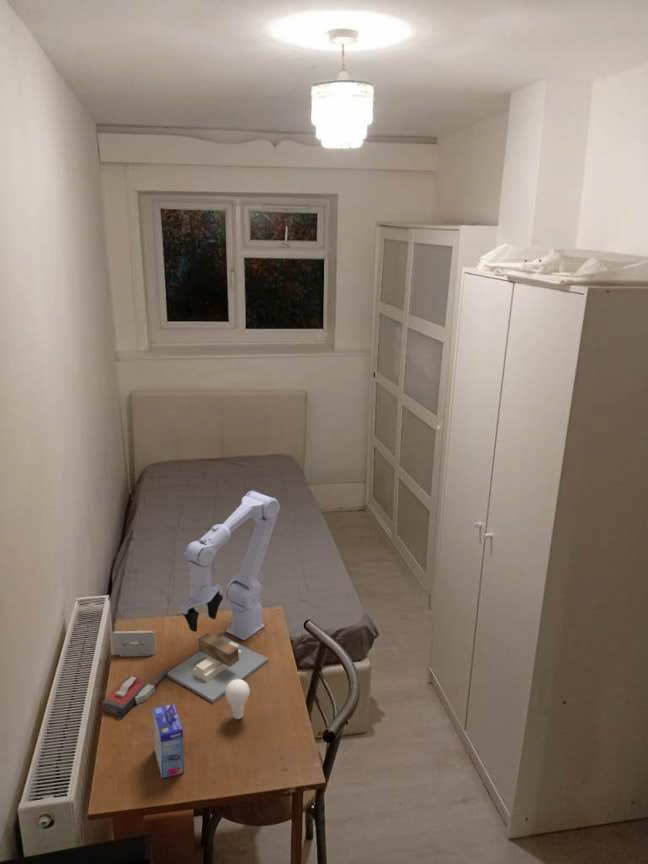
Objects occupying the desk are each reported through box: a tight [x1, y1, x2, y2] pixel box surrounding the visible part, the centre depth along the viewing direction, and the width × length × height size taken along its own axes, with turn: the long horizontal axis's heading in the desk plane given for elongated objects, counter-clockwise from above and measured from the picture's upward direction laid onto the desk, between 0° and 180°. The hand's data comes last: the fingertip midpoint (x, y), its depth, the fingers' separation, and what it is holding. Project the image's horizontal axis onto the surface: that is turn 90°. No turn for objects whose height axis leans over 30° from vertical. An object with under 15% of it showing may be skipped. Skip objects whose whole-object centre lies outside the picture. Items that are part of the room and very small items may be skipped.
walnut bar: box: [198, 632, 239, 667], centre depth 185 cm, size 12×4×4 cm, turn 54°
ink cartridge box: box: [152, 703, 185, 779], centre depth 152 cm, size 10×6×14 cm, turn 24°
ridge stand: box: [166, 635, 269, 704], centre depth 186 cm, size 22×18×4 cm
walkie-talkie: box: [102, 669, 169, 718], centre depth 176 cm, size 9×4×20 cm
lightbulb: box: [224, 679, 251, 720], centre depth 167 cm, size 6×6×11 cm
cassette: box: [111, 630, 157, 657], centre depth 191 cm, size 12×2×8 cm, turn 93°
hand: (202, 624), depth 190 cm, fingers open, 7 cm apart
